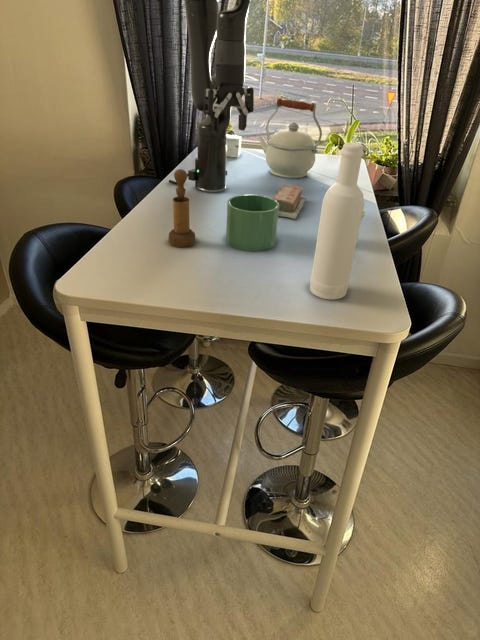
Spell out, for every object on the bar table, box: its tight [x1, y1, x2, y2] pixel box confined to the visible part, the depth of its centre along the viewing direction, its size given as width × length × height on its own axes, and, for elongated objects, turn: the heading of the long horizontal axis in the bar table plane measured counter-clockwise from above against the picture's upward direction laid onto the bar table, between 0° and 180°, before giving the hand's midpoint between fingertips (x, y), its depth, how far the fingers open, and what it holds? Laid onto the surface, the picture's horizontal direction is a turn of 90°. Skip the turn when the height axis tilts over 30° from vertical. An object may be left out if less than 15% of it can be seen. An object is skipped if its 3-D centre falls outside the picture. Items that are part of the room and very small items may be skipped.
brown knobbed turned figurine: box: [168, 168, 196, 248], centre depth 110 cm, size 7×6×18 cm
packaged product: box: [271, 184, 307, 220], centre depth 139 cm, size 18×5×10 cm
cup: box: [225, 194, 280, 252], centre depth 115 cm, size 13×13×10 cm
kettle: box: [258, 98, 323, 179], centre depth 167 cm, size 25×18×25 cm
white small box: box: [226, 134, 242, 158], centre depth 189 cm, size 6×6×7 cm
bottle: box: [309, 142, 365, 301], centre depth 90 cm, size 8×8×30 cm
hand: (228, 131), depth 122 cm, fingers open, 8 cm apart
